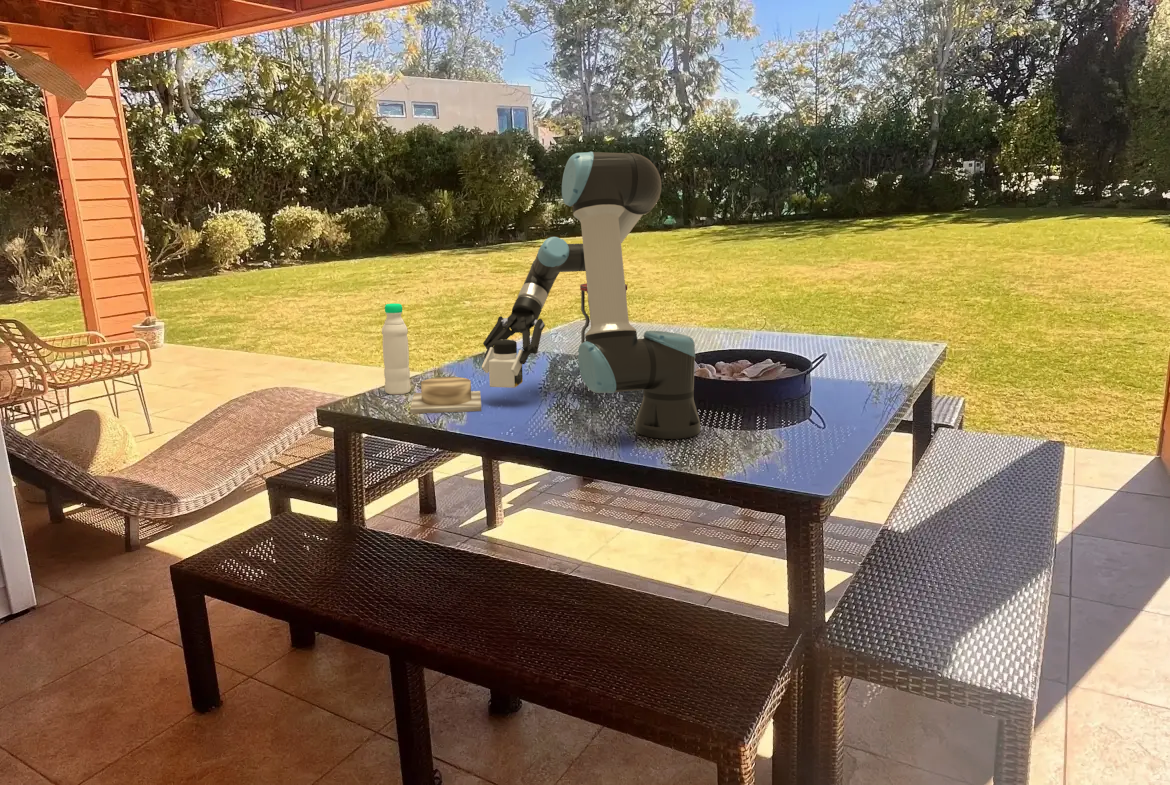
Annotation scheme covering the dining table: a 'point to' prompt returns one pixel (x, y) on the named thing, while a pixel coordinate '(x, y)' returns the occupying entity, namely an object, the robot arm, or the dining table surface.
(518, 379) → the medicine bottle
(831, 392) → the dining table surface
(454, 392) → the post stand
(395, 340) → the water bottle
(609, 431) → the dining table surface
